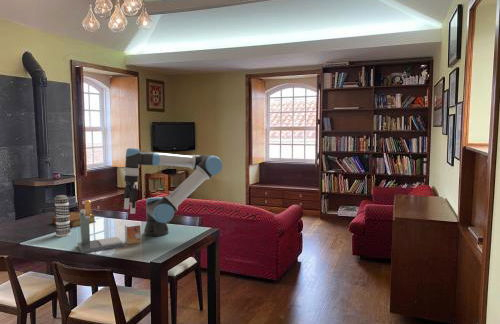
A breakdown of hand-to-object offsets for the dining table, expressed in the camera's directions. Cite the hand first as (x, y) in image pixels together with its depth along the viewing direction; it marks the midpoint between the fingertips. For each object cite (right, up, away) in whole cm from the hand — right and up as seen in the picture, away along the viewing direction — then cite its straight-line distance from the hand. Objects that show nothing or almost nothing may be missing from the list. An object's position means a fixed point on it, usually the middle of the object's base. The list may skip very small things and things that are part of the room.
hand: (129, 211), depth 227 cm
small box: (+1, -19, +3) cm, 19 cm away
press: (-15, -20, -4) cm, 25 cm away
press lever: (-20, -1, -12) cm, 24 cm away
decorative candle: (-48, -18, +20) cm, 55 cm away
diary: (-55, -15, +50) cm, 76 cm away
